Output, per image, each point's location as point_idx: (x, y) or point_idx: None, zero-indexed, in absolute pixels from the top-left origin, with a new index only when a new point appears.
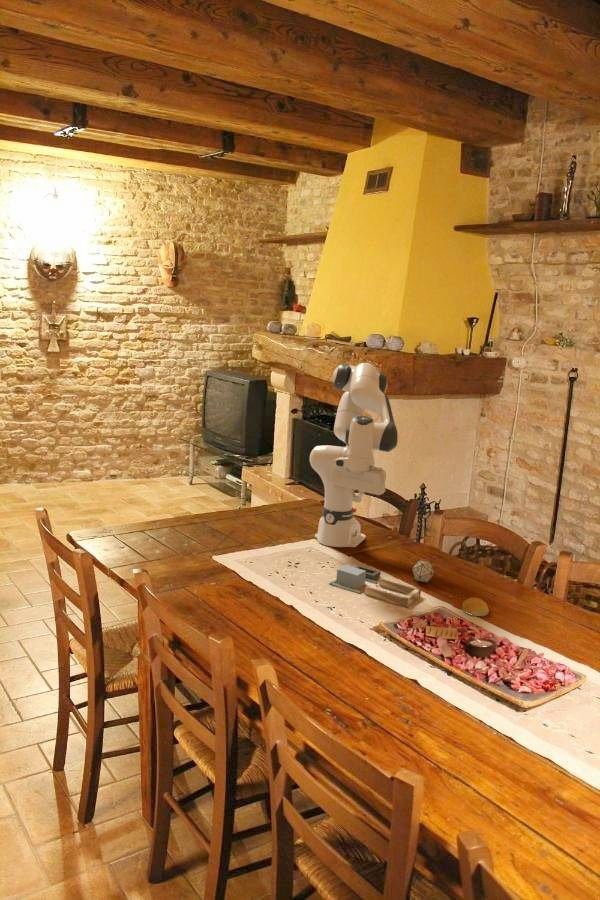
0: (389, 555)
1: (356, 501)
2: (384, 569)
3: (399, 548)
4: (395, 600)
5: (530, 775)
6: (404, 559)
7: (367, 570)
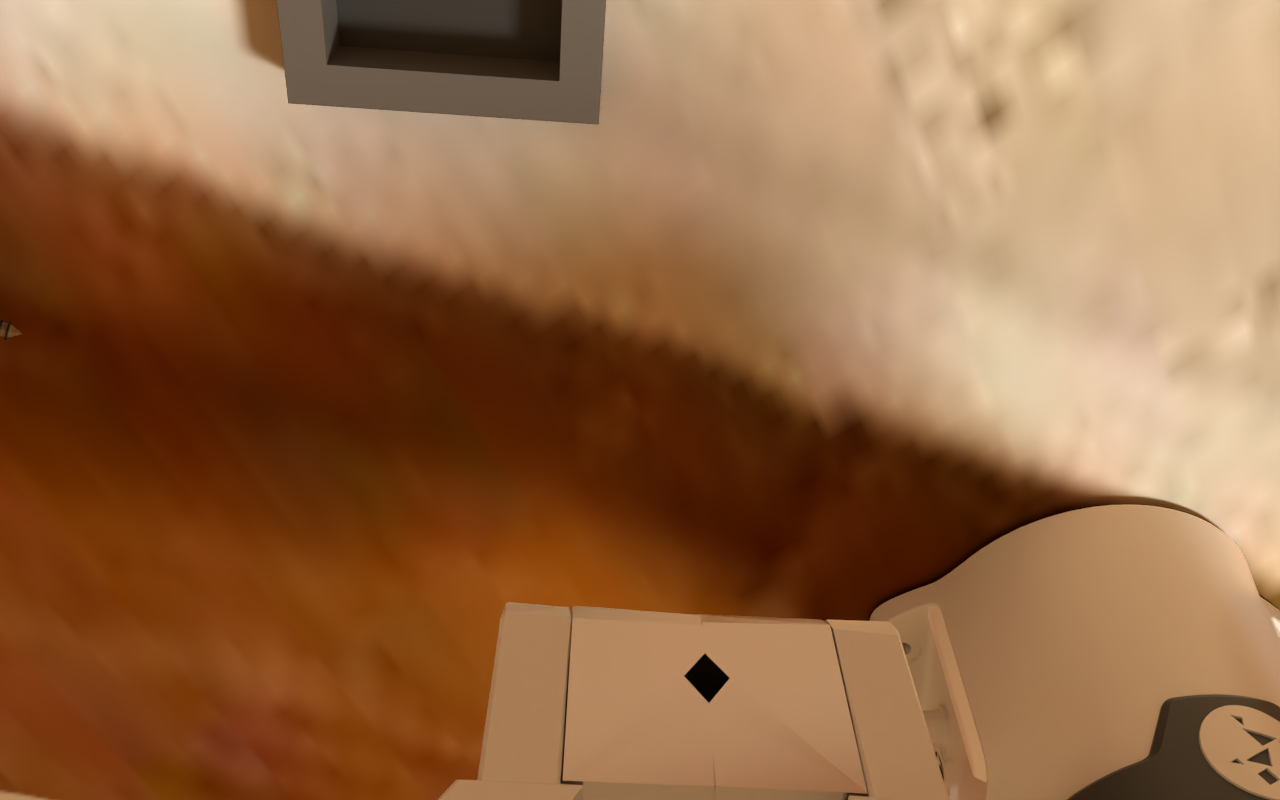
0: None
1: (618, 613)
2: (391, 307)
3: None
4: None
5: None
6: (390, 614)
7: (449, 67)
